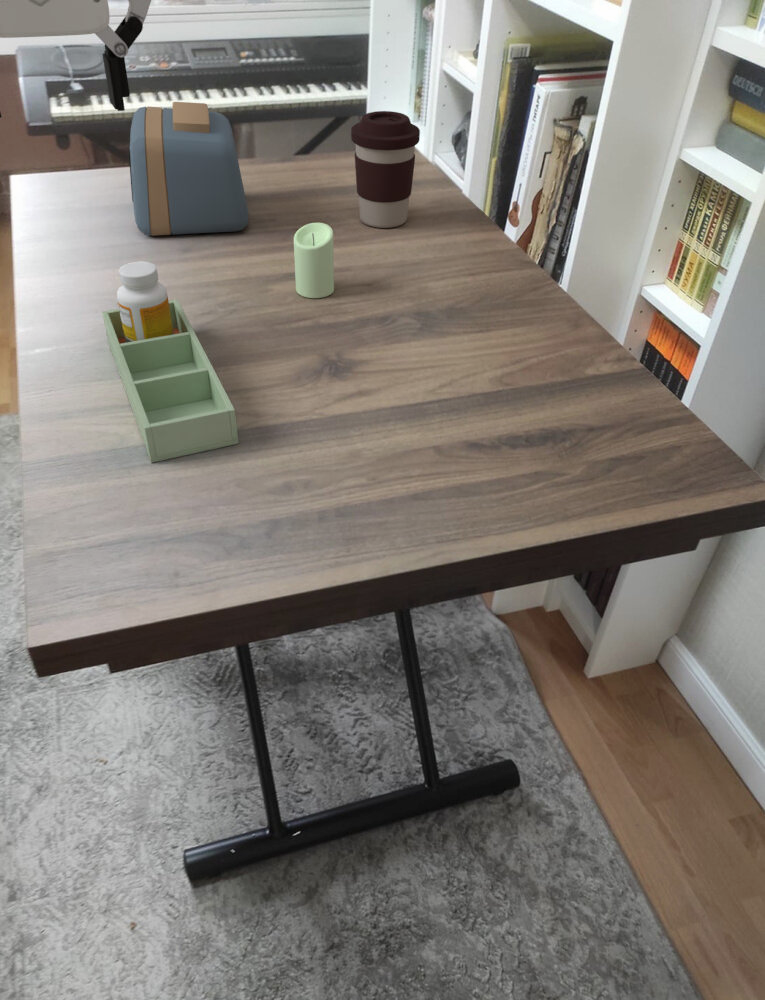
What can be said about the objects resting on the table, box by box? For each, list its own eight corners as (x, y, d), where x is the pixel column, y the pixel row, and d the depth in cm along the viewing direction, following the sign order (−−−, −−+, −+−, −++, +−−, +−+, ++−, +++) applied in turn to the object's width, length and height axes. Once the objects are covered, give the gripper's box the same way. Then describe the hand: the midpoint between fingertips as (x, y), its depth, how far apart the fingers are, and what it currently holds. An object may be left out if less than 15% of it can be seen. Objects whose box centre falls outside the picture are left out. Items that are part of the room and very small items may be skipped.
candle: (322, 302, 107) (320, 240, 102) (288, 293, 109) (285, 232, 104) (340, 287, 111) (340, 226, 105) (308, 278, 112) (306, 219, 107)
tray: (151, 463, 81) (144, 428, 78) (108, 343, 98) (101, 311, 95) (238, 443, 83) (235, 409, 81) (182, 330, 101) (177, 299, 98)
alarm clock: (140, 200, 133) (122, 92, 122) (243, 195, 135) (234, 89, 125) (137, 241, 120) (117, 125, 110) (251, 235, 123) (242, 121, 113)
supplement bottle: (181, 338, 98) (169, 259, 91) (167, 362, 93) (154, 281, 87) (136, 335, 98) (121, 256, 92) (120, 358, 94) (104, 277, 88)
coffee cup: (354, 233, 124) (354, 128, 115) (348, 209, 132) (347, 107, 122) (420, 231, 126) (425, 127, 116) (410, 207, 133) (414, 107, 123)
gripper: (-134, -154, 53) (-55, 132, 63) (142, -146, 58) (172, 115, 69) (-131, -157, 58) (-58, 107, 69) (123, -150, 64) (154, 93, 74)
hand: (58, 111), depth 69 cm, fingers open, 9 cm apart
